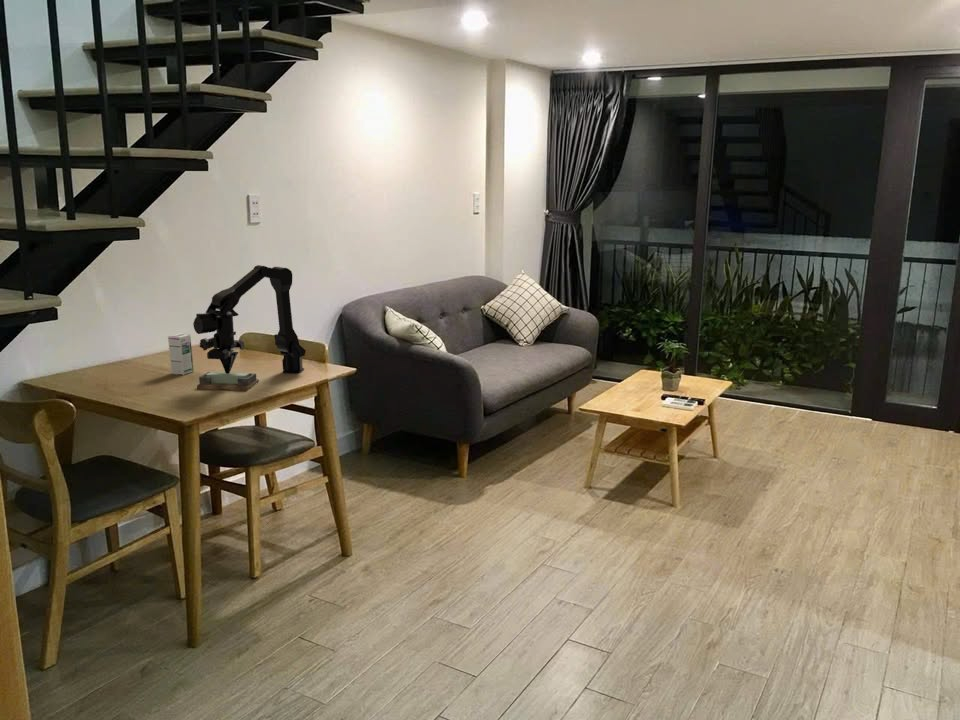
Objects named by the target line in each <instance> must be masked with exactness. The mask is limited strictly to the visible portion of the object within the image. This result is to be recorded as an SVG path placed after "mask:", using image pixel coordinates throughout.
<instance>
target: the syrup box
mask: <svg viewBox="0 0 960 720" xmlns="http://www.w3.org/2000/svg"><path fill="white" fill-rule="evenodd" d="M191 337H192V336H191V333H184V332H183V333H181V332H180V333H176V334H172V335H168V336H167V340H168V341H167V342H168V353H169V361H170V372H171V374H173V375H178V374H182V376H184V374H185V375H187V374H191V373H193V372H194V361H193V360H194V359H193V349H192V338H191Z"/></svg>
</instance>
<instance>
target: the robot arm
mask: <svg viewBox="0 0 960 720" xmlns="http://www.w3.org/2000/svg"><path fill="white" fill-rule="evenodd" d="M265 278H267V279H269V282H270V286H271V287H272V289H273V290H274V292H275V300H276V309H277V318H278V327H279V328H278V329H279V330H278V332H277V334H274V336H273V337H274V345H275V346H276V349H278V351H279V352H280V355H283V358H282V359H281V361H282V363H281V364H282V373H289V374H291V373H293V374H299V373H301V372H302V371H304V370H305V368H304V367H303V357H305V356H306V349H305V348H304V347H303V346H301V344H300V341H299V337H298V335H297V333H296V332H295V330H294V327H293V325H294V324H293V316H292V315H293V314H292V307H291V295H290V290H291V288H292V285H293V272H292V270H291V269H289V268H287V267H283V266H273V267H267V266H266V265H260V264H257V265H255V266H253V268H252V269H251V270H250V271H249V272H248V273H247V274H245V275H244V276H243V277H241V278H240V279H239V280H238V281H237V282H235V283H234V284H233V285H232V286H230V287H228V288H225V289H222V290H221V291H219V292H217V293H215V294H213V296H212V298H211V302H210V303H209V306H208V307H207V309H206V311H205V312H204V313H201V312H200V313H196V317H195V318H194V320H193V324H192V325H193V329H194V332H195V333H196V334H198V335H201V334H208V333H213V332H215V333H214V334H213V337H210V338H207V337H203V338H202V339H200V342H199V348H200V349H202V350H203V352H205V351H208V349H210V350H209V351H208V352H207V353H206V357H207V359H208V360H219V361H220V362H221V365H222V367H223V370H224V373H226V374H229V373H231V371H232V368H233V366H234V363H235V360H236V358H237V357H238V354H239V352H238V351H235V349H239V350H243V349H245V342H244V341H243V340H241V339H240V340H239V339H235V335H236V334H237V332H236V331H234V317H238V316H239V313H238V312H237V311H235V310H234V309H235V307H236V306H237V305H238V304H239V301H240V299H241V297H243V296H244V295H245V294H246V293H247V292H249V291H250V290H251V289H253V287H255V286H256V285H257V284H258V283H259V282H261V281H262V280H263V279H265Z"/></svg>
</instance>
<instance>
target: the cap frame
mask: <svg viewBox="0 0 960 720" xmlns="http://www.w3.org/2000/svg"><path fill="white" fill-rule="evenodd" d="M210 372H211V371H207V372H206V373H204V374H202V375H200V376H199V379H198V380H199V384H197V385H196V389H197V388H198V389H197V390H199V389H200V390H219V389H230V390H229V391H246V390H248V389H249V388H250V389H251V387H252V386H253V387H255V386H256V385H257V384H259V383H260V380H259V378H257V373H255V372H254V373H253V372H252V373H249V372H248V373H249V377H248V378H238V384H228V383H211V377H206V374H208V373H210ZM258 382H259V383H258ZM256 383H257V384H256ZM255 384H256V385H255ZM254 385H255V386H254ZM253 387H252V388H253ZM250 389H249V390H250ZM249 390H248V391H249Z"/></svg>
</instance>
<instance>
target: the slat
mask: <svg viewBox="0 0 960 720" xmlns="http://www.w3.org/2000/svg"><path fill="white" fill-rule="evenodd" d="M209 372H210V373H208V374H206V377H211V383H228V384H238V378H248V377H249V372H247V373H246V372H230V373H229V374H226V373H225V372H222V371H221V372H219V371H209Z"/></svg>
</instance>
